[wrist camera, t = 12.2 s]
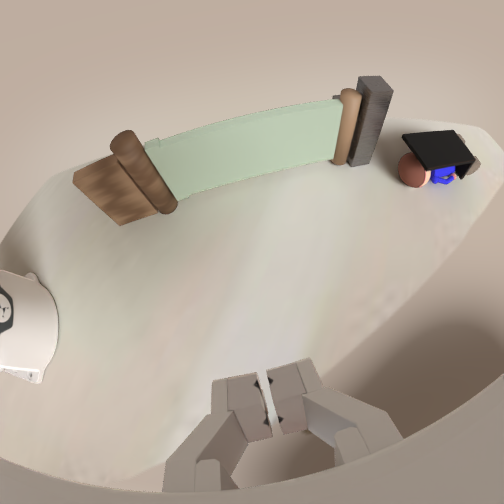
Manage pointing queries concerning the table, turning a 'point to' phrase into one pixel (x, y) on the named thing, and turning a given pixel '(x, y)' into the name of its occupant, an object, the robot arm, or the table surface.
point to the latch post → (368, 118)
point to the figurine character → (435, 158)
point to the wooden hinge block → (126, 182)
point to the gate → (256, 144)
